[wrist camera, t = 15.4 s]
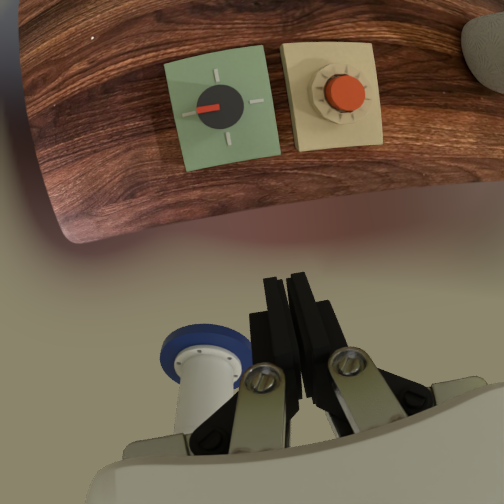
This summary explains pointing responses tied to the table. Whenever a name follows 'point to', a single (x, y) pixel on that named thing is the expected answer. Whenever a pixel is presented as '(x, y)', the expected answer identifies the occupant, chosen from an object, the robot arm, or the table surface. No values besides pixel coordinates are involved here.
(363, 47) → the button base
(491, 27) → the planter
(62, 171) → the table surface
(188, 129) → the dial base
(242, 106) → the dial
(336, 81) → the stop button
